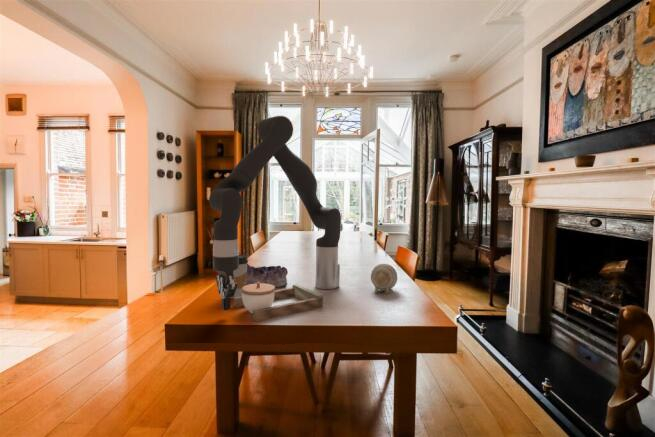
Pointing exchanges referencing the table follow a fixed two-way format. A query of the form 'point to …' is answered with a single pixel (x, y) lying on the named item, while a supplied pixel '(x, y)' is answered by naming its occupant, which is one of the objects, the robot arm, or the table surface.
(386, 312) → the table surface
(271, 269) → the geode
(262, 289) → the lidded jar
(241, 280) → the coffee cup
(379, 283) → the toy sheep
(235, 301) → the channel
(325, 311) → the table surface
